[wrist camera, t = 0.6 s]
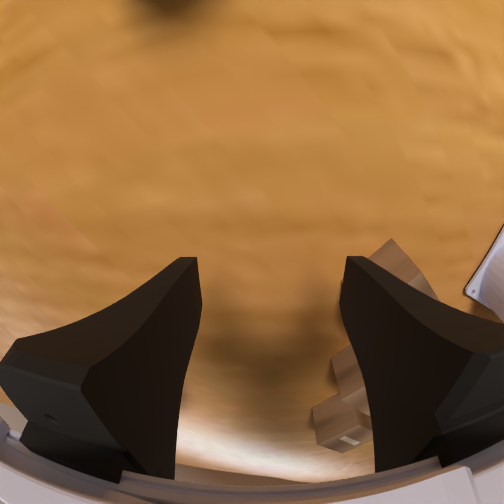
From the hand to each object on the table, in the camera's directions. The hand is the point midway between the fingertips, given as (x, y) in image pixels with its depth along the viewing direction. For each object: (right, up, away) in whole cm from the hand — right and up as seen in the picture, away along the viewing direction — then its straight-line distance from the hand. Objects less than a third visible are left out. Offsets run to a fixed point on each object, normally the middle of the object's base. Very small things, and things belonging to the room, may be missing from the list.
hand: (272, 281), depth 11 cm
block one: (+9, -16, +19) cm, 26 cm away
